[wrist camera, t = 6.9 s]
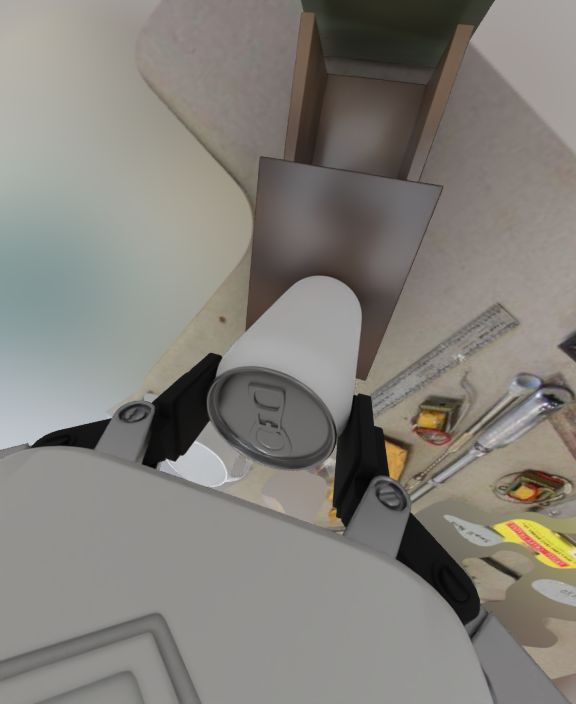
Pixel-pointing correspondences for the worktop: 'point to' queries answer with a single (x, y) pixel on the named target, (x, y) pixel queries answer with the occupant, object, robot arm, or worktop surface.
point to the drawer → (375, 82)
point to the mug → (209, 460)
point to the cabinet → (337, 238)
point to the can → (290, 377)
